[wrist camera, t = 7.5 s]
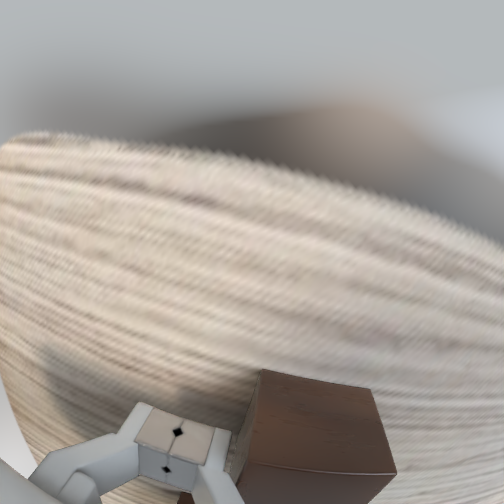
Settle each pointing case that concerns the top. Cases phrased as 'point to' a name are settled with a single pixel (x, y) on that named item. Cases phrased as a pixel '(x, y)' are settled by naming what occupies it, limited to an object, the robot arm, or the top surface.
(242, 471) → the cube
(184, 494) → the middle cube
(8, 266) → the top surface
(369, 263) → the top surface
